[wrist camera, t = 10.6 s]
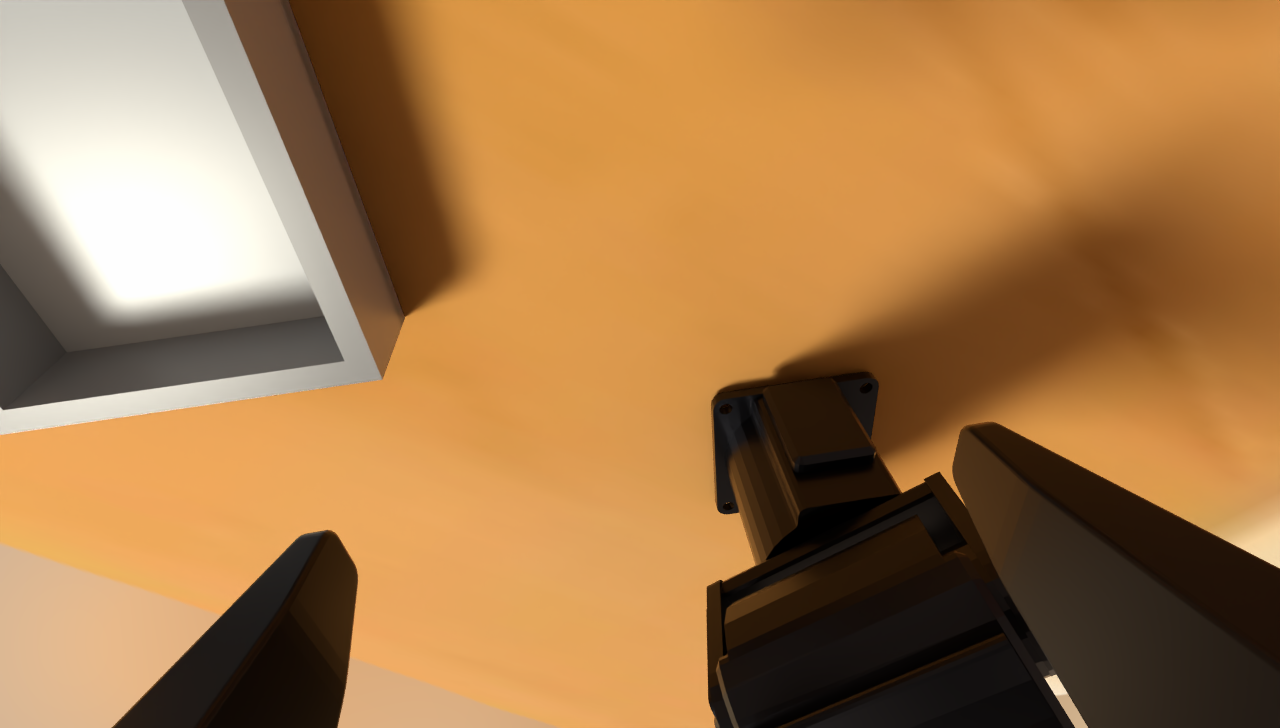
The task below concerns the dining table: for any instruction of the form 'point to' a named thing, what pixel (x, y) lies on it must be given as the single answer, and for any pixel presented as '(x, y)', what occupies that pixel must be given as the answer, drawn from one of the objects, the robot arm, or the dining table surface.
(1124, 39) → the dining table surface
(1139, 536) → the robot arm
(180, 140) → the tray
